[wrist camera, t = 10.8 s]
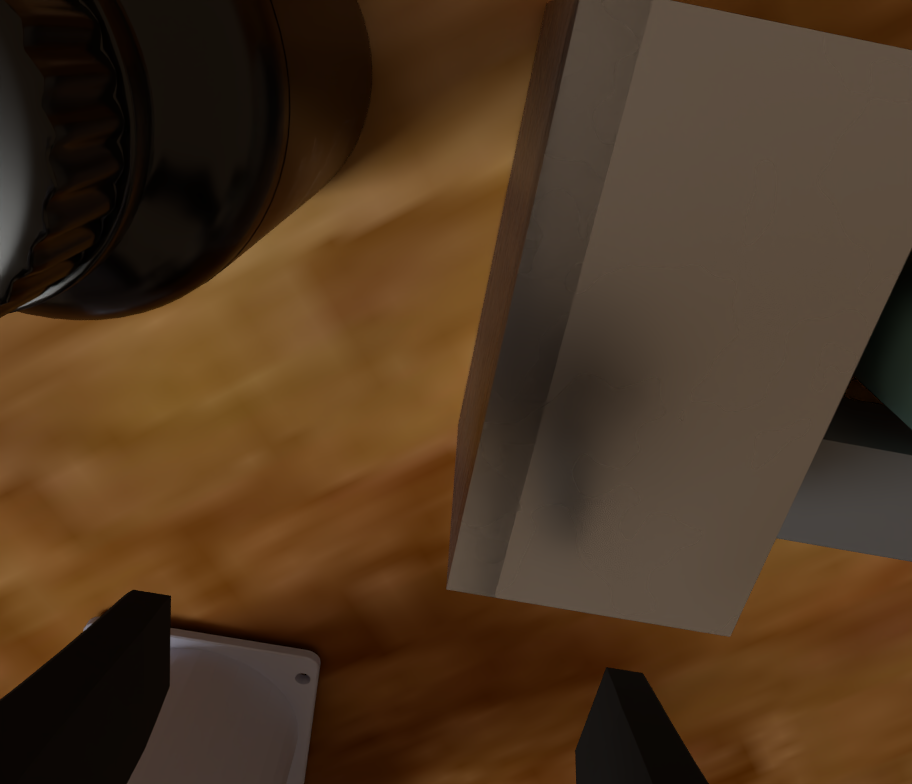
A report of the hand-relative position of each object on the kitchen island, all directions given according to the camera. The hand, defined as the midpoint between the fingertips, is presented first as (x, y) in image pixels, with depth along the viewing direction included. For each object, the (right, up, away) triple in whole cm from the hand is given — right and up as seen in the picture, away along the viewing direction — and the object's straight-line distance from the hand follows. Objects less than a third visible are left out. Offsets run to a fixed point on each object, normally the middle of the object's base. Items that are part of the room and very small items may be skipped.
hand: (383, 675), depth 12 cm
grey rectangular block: (+5, +8, +7) cm, 12 cm away
